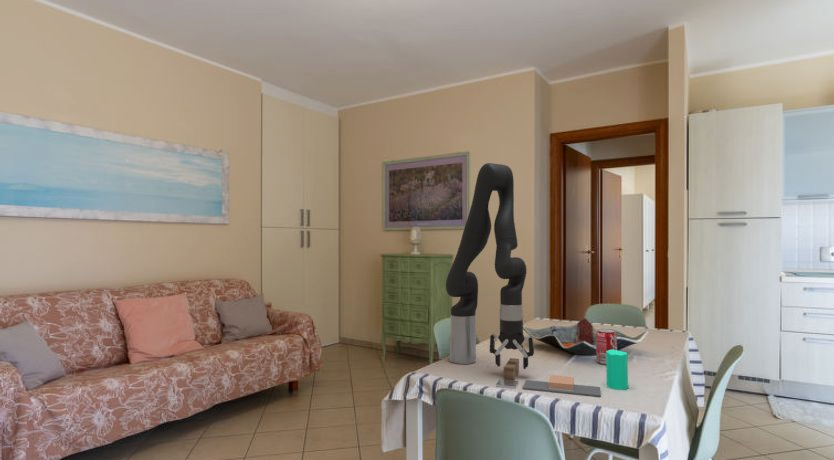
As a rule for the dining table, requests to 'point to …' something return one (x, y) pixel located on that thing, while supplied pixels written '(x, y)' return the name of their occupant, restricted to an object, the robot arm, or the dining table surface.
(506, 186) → the robot arm
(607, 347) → the soda can
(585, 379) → the dining table surface
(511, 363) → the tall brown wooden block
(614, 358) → the candle
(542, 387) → the mat
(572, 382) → the tile
